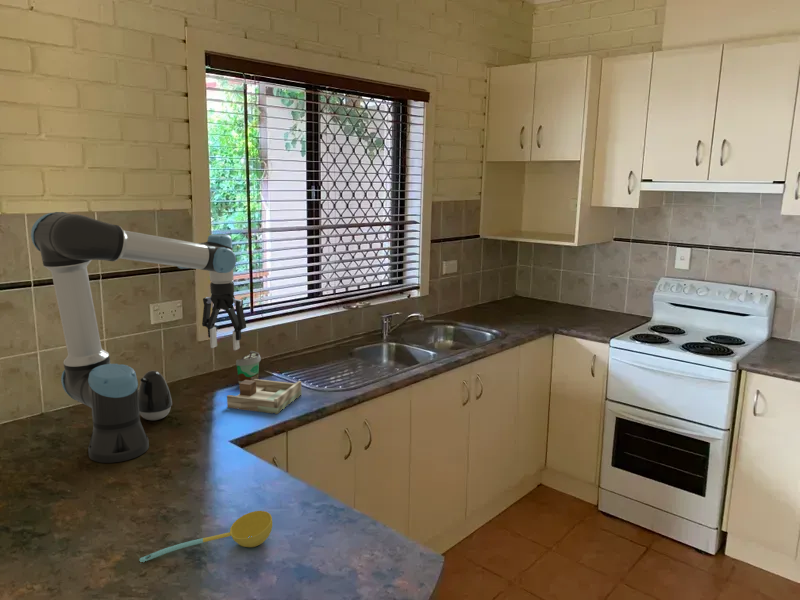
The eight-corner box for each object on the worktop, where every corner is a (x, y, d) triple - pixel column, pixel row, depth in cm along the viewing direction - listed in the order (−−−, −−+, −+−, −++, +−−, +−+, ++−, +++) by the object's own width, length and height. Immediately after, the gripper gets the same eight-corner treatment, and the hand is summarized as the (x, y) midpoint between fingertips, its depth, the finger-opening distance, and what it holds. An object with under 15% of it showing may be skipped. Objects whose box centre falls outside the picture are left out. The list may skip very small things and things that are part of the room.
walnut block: (250, 396, 207) (249, 384, 206) (239, 394, 208) (239, 383, 207) (256, 392, 211) (255, 380, 210) (245, 390, 212) (245, 379, 211)
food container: (252, 388, 221) (251, 361, 219) (236, 386, 222) (235, 360, 220) (266, 377, 232) (266, 351, 230) (251, 375, 234) (250, 350, 232)
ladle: (279, 546, 127) (272, 523, 125) (146, 596, 120) (137, 573, 119) (274, 522, 135) (267, 500, 133) (149, 567, 129) (140, 545, 127)
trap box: (277, 414, 197) (276, 399, 196) (227, 407, 202) (226, 393, 201) (301, 395, 214) (301, 381, 213) (254, 389, 219) (254, 376, 218)
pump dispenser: (130, 422, 190) (126, 374, 187) (151, 409, 200) (147, 364, 197) (159, 425, 188) (156, 377, 184) (179, 412, 197) (176, 367, 194)
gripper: (255, 281, 205) (258, 347, 209) (201, 277, 210) (204, 342, 215) (244, 285, 198) (247, 353, 202) (187, 281, 203) (191, 348, 208)
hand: (225, 347), depth 209 cm, fingers open, 8 cm apart
